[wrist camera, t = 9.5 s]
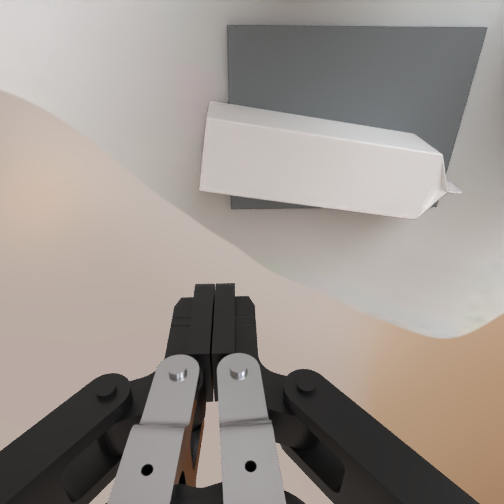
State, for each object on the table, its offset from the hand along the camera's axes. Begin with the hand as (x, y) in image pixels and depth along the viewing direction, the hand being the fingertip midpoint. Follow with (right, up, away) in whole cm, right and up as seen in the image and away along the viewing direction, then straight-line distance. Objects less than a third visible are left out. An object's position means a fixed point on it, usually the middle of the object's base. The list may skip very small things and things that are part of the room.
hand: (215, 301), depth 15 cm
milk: (-3, +11, +18) cm, 21 cm away
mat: (+10, +13, +21) cm, 27 cm away
